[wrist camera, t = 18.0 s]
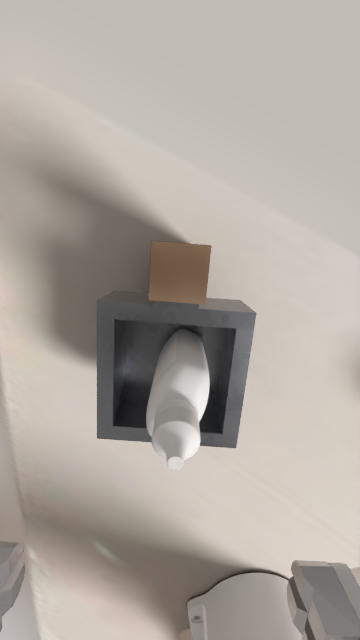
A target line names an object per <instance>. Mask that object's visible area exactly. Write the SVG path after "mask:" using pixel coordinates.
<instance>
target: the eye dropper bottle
mask: <svg viewBox="0 0 360 640" xmlns="http://www.w3.org/2000/svg"><path fill="white" fill-rule="evenodd" d="M209 387H210V378H209V370H208V364H207V360H206V355H205V351H204V346H203V342H202V339H201V337H200V336H199V335H198V334H195V333H193V332H190V331H188V330H185V329H179V330H177V331H176V332H174V333H173V334H172V335H171V337H170V338H169V339H168V340H167V342H166V343H165V345H164V346H163V348H162V350H161V352H160V355H159V358H158V361H157V366H156V370H155V374H154V379H153V383H152V387H151V392H150V396H149V401H148V406H147V412H146V426H147V431H148V433H149V435H150V436H151V437H152V439H151V440H152V445H153V447H154V449H155V451H156V452H157V454H159V455H160V456H161V457H163V458H164V459H167V464H168V467H169V468H171V469H173V470H178V469H180V468H181V467H182V466H183V463H184V460H186V459H188V458H190V457H192V456H193V455H194V454H195V453H196V452H197V450H198V448H199V446H200V442H201V438H200V428H199V422H200V420H201V418H202V416H203V414H204V411H205V408H206V405H207V401H208V396H209Z"/></svg>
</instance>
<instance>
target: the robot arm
mask: <svg viewBox="0 0 360 640" xmlns="http://www.w3.org/2000/svg"><path fill="white" fill-rule="evenodd" d="M23 552H24V548H23V543H20V542H7V541H0V631H1V629H2V616H3V615H4V614H5V613H6V612H7V611H8V610H9V609H10V608H11V607H12V606H13V604H14V602H15V600H16V598H17V596H18V594H19V591H20V588H21V585H22V582H23V579H24V573H25V563H24V561H23V560H22V559H21V556H22V554H23ZM291 571H292V574H293V577H291V578H290V579H289V580H286V579H284V578H282V577H279V576H276V575H273V574H267V573H246V574H240V575H236V576H233V577H230V578H228V579H226V580H224V581H222V582H220V583H219V584H217V585H216V586H215V587H214V588H212V589H211V590H210V591H209V592H208V593H206V594H204V595H201V596H199V597H196V598H194V599H192V600H190V601H189V602H188V603H187V609H188V618H189V624H190V630H191V636H192V640H360V587H359V585H358V583H357V581H356V579H355V577H354V575H353V574H352V572H351V570H350V568H349V567H348V566H347V565H346V564H343V563H327V562H320V561H298V560H295V561H294V562H292V566H291Z"/></svg>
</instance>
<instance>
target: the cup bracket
mask: <svg viewBox="0 0 360 640" xmlns="http://www.w3.org/2000/svg"><path fill="white" fill-rule="evenodd" d="M210 253H211V245H198V244H186V243H173V242H160V241H151V257H150V278H149V293H136V292H123V291H114V292H112V293H110V294H109V295H107V296H105V297H103V298H101V299H100V300H98V301H97V438H99V439H113V440H128V441H142V442H152V440H151V439H152V437H151V436H150V435H149V433H148V431H147V426H146V412H147V406H148V401H149V396H150V392H151V387H152V383H153V379H154V374H155V370H156V366H157V361H158V358H159V355H160V352H161V350H162V348H163V346H164V345H165V343H166V342H167V340H168V339H169V338H170V337H171V335H172V334H173V333H174V332H176V331H177V330H179V329H185V330H188V331H190V332H193V333H195V334H198V335H199V336H200V337H201V339H202V342H203V346H204V351H205V355H206V360H207V364H208V370H209V378H210V387H209V396H208V401H207V405H206V408H205V411H204V414H203V416H202V418H201V420H200V422H199V428H200V438H201V442H200V446H212V447H227V448H236V445H237V438H238V431H239V425H240V418H241V411H242V405H243V398H244V391H245V385H246V378H247V371H248V365H249V358H250V351H251V345H252V338H253V331H254V325H255V318H256V312H254V311H253V310H252V309H251V308H249V307H248V306H247V305H246V304H244V303H243V302H242V301H240V300H227V299H214V298H206V292H207V283H208V273H209V263H210Z"/></svg>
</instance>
